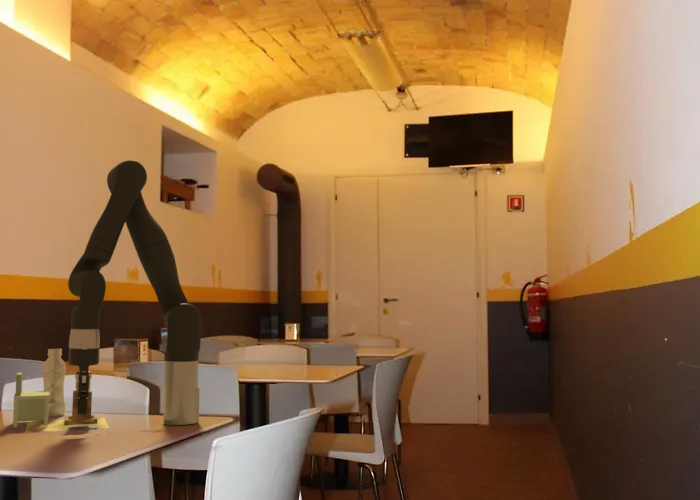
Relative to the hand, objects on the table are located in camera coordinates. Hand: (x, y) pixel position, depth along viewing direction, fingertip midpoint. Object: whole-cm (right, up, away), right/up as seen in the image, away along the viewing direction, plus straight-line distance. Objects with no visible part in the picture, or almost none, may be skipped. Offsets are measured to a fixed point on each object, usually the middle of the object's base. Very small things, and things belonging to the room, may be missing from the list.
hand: (81, 412), depth 195 cm
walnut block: (0, -2, 0) cm, 2 cm away
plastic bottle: (-16, -7, +21) cm, 28 cm away
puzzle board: (-5, -5, +4) cm, 9 cm away
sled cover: (-15, -4, +5) cm, 16 cm away
